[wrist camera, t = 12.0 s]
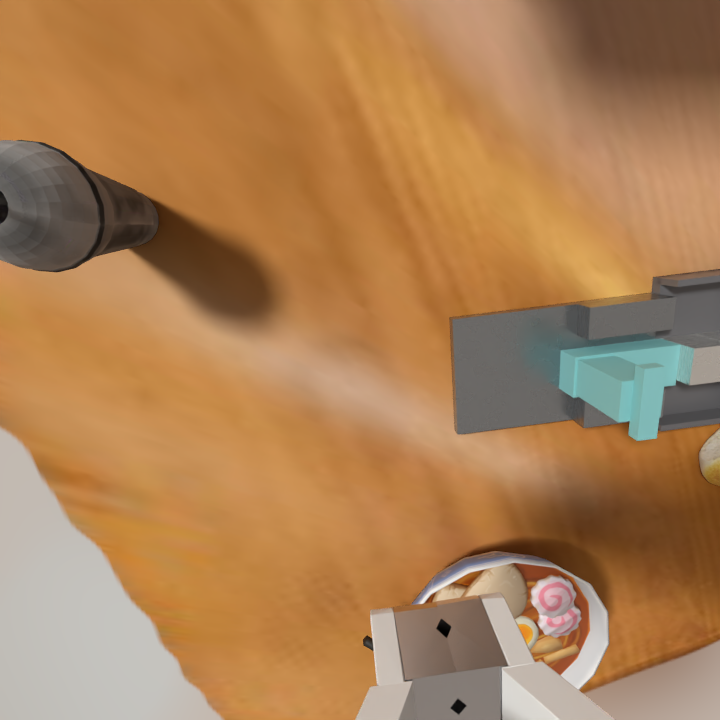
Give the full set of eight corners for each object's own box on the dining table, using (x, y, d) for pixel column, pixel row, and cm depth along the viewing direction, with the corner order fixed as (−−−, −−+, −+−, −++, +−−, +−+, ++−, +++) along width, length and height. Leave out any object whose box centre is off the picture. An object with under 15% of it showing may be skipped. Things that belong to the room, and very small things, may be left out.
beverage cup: (135, 278, 36) (-82, 325, 17) (67, 211, 35) (-261, 180, 15) (193, 223, 35) (31, 208, 16) (127, 151, 34) (-144, 38, 14)
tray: (653, 277, 40) (678, 280, 37) (743, 266, 40) (774, 268, 37) (639, 418, 44) (660, 431, 41) (720, 407, 44) (747, 419, 41)
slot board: (449, 317, 39) (458, 323, 36) (651, 292, 40) (676, 296, 37) (454, 430, 43) (463, 443, 40) (640, 405, 43) (662, 417, 41)
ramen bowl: (612, 589, 51) (663, 653, 43) (474, 693, 54) (498, 770, 46) (484, 468, 44) (516, 518, 37) (337, 595, 48) (339, 665, 40)
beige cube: (660, 338, 40) (694, 348, 36) (694, 334, 40) (732, 344, 37) (656, 371, 41) (689, 385, 37) (689, 367, 41) (726, 380, 38)
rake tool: (561, 340, 40) (629, 370, 31) (661, 328, 40) (757, 355, 31) (558, 397, 41) (622, 442, 32) (654, 385, 42) (744, 427, 33)
